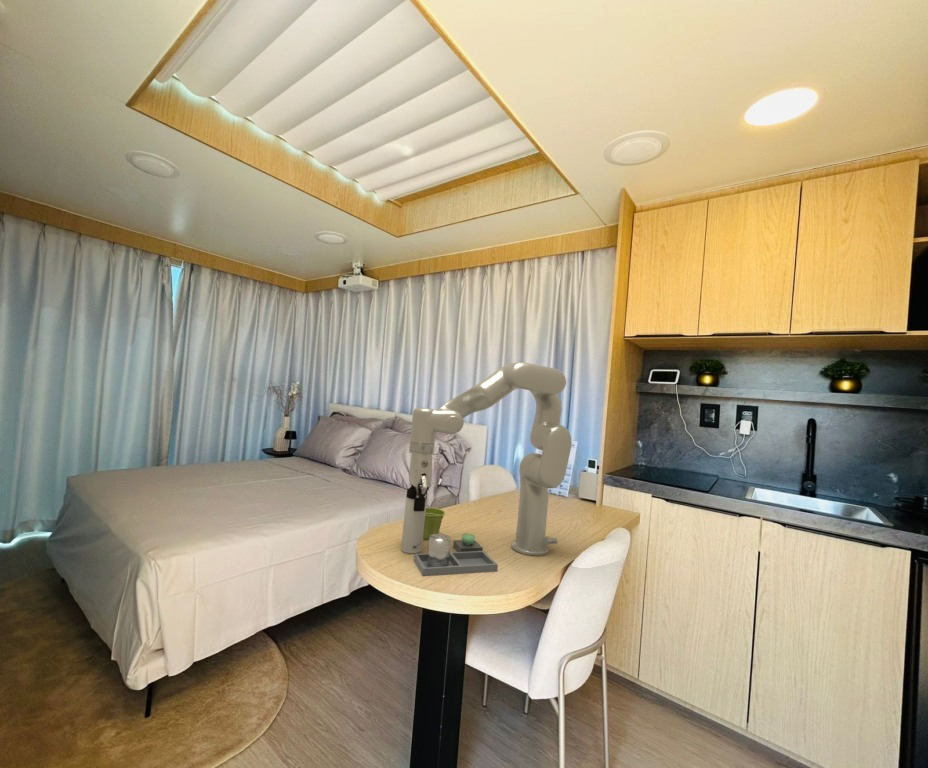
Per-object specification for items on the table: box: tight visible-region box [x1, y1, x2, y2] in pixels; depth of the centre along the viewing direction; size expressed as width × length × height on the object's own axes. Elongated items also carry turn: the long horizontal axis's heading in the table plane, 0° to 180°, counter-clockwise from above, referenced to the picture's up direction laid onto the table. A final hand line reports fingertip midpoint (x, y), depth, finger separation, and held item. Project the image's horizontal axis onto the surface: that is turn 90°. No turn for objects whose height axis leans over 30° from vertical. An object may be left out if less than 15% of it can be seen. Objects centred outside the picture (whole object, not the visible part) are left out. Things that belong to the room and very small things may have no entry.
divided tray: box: [413, 550, 499, 577], centre depth 112 cm, size 21×10×3 cm, turn 110°
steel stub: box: [427, 533, 452, 567], centre depth 110 cm, size 6×6×8 cm
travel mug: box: [400, 485, 430, 555], centre depth 121 cm, size 6×7×20 cm
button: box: [461, 533, 476, 545], centre depth 124 cm, size 4×4×5 cm
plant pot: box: [423, 507, 446, 541], centre depth 136 cm, size 9×9×9 cm
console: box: [452, 539, 484, 552], centre depth 124 cm, size 7×7×3 cm
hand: (416, 507), depth 121 cm, fingers closed on travel mug, 6 cm apart
